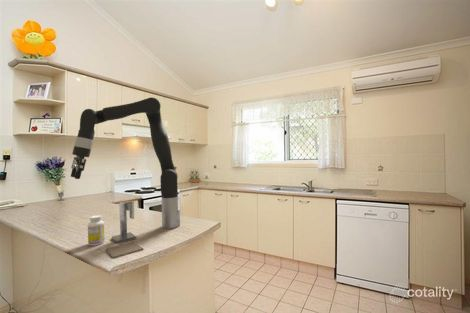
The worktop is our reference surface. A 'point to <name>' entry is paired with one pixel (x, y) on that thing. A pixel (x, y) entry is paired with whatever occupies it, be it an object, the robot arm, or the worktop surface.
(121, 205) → the hook
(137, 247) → the cork mat
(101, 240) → the supplement bottle
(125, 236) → the stand
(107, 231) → the worktop surface
